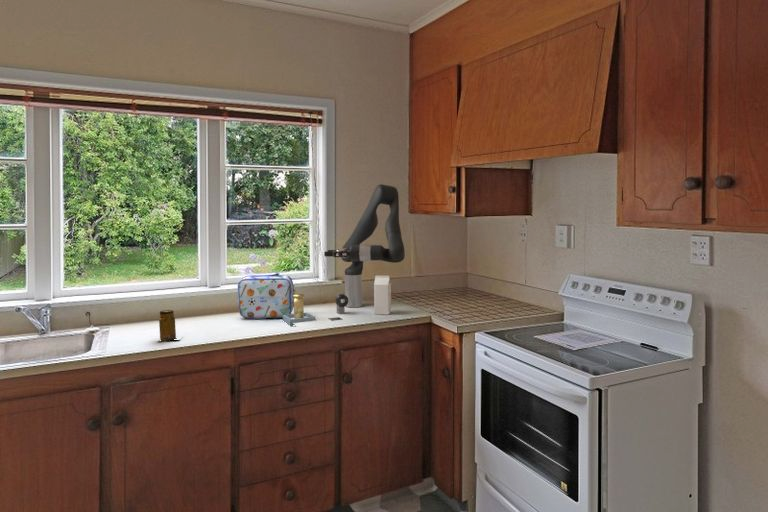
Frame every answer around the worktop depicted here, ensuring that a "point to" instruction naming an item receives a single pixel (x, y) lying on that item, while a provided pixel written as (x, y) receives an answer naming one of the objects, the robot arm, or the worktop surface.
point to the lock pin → (298, 306)
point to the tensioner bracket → (340, 305)
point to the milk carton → (382, 295)
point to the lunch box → (265, 296)
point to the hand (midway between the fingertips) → (326, 253)
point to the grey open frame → (290, 321)
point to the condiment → (167, 325)
